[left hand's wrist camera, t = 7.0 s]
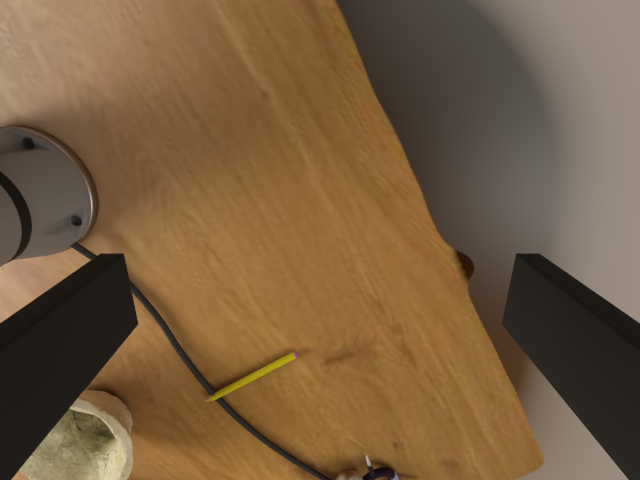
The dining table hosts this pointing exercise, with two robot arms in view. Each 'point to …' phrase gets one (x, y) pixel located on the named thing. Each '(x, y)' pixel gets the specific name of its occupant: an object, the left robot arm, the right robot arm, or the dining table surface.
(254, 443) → the dining table surface
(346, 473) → the toy
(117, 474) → the bowl
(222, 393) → the pencil
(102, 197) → the dining table surface
